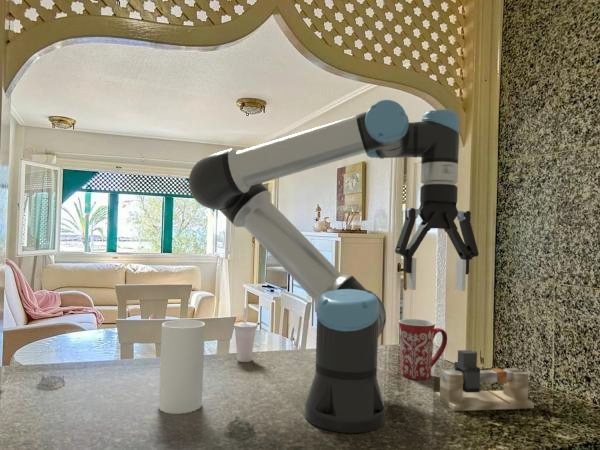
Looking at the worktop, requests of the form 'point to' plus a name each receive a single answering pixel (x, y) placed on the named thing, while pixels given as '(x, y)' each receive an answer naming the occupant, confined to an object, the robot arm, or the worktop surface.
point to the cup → (181, 366)
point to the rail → (507, 398)
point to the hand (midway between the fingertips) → (435, 289)
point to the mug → (418, 347)
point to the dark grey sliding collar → (469, 370)
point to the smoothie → (245, 339)
